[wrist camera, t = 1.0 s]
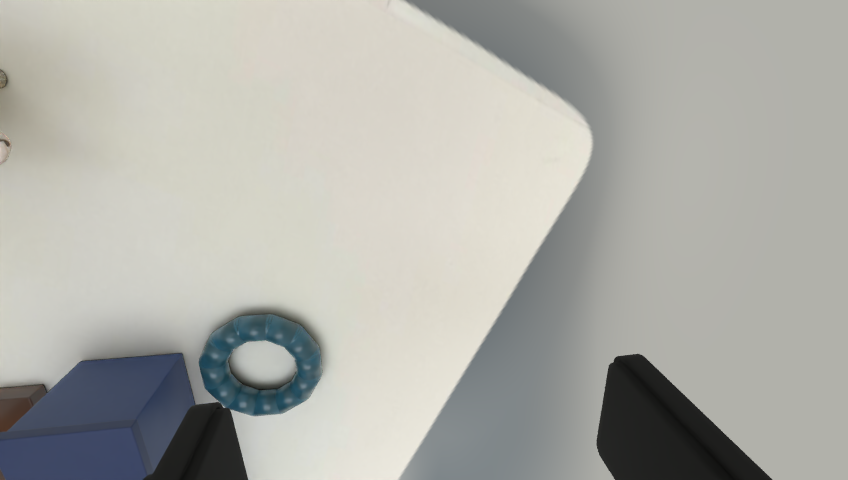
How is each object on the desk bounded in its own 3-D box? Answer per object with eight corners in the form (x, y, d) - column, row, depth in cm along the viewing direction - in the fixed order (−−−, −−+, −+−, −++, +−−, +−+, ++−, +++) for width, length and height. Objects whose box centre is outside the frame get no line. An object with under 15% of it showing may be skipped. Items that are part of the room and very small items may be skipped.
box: (75, 358, 25) (-15, 441, 19) (185, 349, 26) (131, 427, 20) (127, 500, 29) (67, 604, 23) (220, 489, 30) (184, 586, 24)
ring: (195, 314, 25) (184, 328, 24) (316, 306, 26) (314, 319, 25) (217, 408, 28) (208, 426, 26) (327, 397, 29) (325, 414, 27)
